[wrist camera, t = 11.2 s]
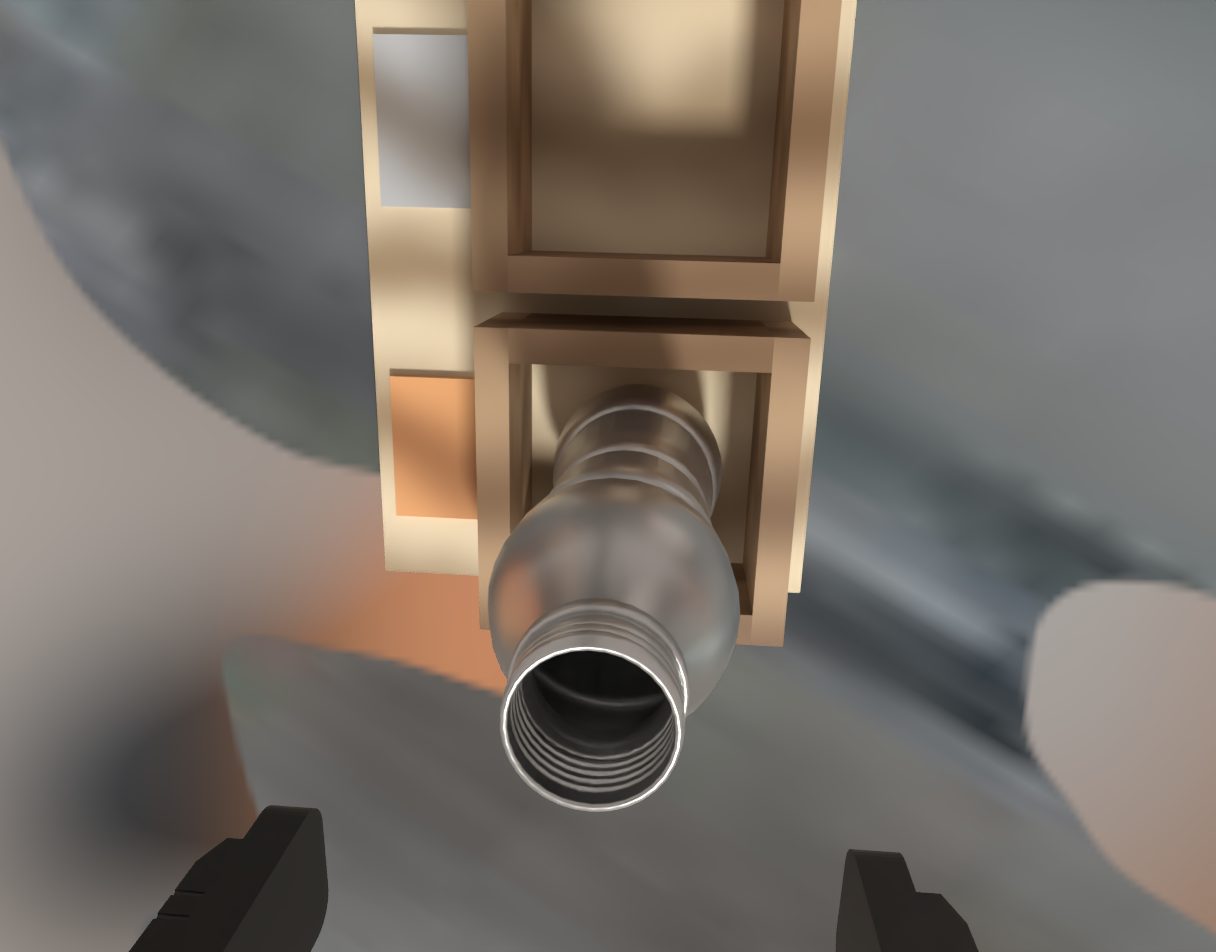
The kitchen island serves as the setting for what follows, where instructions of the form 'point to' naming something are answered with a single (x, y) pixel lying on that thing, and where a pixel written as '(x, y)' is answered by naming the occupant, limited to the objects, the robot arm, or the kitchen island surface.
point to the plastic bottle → (614, 602)
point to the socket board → (598, 254)
